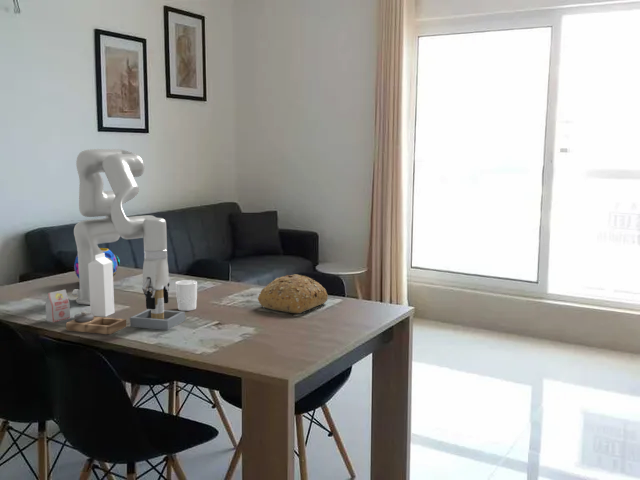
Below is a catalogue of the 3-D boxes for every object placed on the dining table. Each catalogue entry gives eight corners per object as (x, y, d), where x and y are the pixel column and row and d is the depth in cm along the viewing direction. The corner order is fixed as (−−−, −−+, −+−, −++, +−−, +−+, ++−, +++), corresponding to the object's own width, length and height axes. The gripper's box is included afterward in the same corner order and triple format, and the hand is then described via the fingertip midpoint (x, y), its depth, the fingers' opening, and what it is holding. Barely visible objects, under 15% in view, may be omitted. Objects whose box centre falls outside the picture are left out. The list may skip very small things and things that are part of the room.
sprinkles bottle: (148, 321, 223) (146, 283, 221) (159, 319, 226) (158, 280, 224) (156, 324, 220) (154, 285, 218) (167, 321, 223) (166, 282, 221)
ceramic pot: (110, 288, 275) (109, 253, 273) (68, 288, 276) (66, 253, 273) (123, 279, 293) (122, 246, 290) (84, 279, 293) (82, 246, 291)
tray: (130, 326, 219) (130, 317, 219) (149, 317, 231) (148, 308, 230) (167, 330, 215) (167, 320, 215) (185, 320, 227) (184, 311, 226)
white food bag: (46, 320, 226) (44, 292, 225) (63, 316, 232) (62, 288, 230) (52, 322, 224) (51, 293, 223) (70, 318, 230) (68, 290, 228)
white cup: (192, 311, 238) (192, 285, 237) (172, 310, 240) (171, 284, 238) (201, 306, 246) (200, 280, 245) (181, 305, 248) (180, 279, 246)
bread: (300, 317, 232) (299, 284, 230) (252, 309, 243) (251, 277, 241) (335, 303, 252) (335, 272, 250) (290, 296, 263) (289, 267, 261)
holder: (66, 330, 215) (65, 315, 214) (84, 322, 224) (83, 308, 223) (110, 334, 210) (109, 319, 210) (126, 326, 219) (125, 311, 219)
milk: (90, 316, 232) (86, 254, 229) (100, 311, 238) (96, 252, 235) (106, 317, 231) (102, 255, 228) (115, 312, 237) (112, 252, 233)
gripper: (158, 250, 229) (160, 299, 231) (131, 258, 212) (133, 311, 215) (178, 251, 227) (179, 300, 229) (152, 259, 210) (154, 313, 213)
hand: (157, 305), depth 222 cm, fingers open, 8 cm apart
